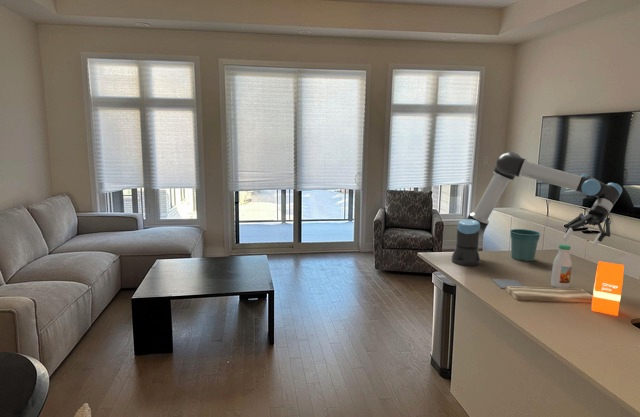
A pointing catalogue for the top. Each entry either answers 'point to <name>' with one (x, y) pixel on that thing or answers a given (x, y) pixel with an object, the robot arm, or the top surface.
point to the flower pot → (524, 244)
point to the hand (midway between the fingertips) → (579, 242)
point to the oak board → (549, 294)
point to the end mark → (506, 283)
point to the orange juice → (607, 288)
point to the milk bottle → (562, 268)
